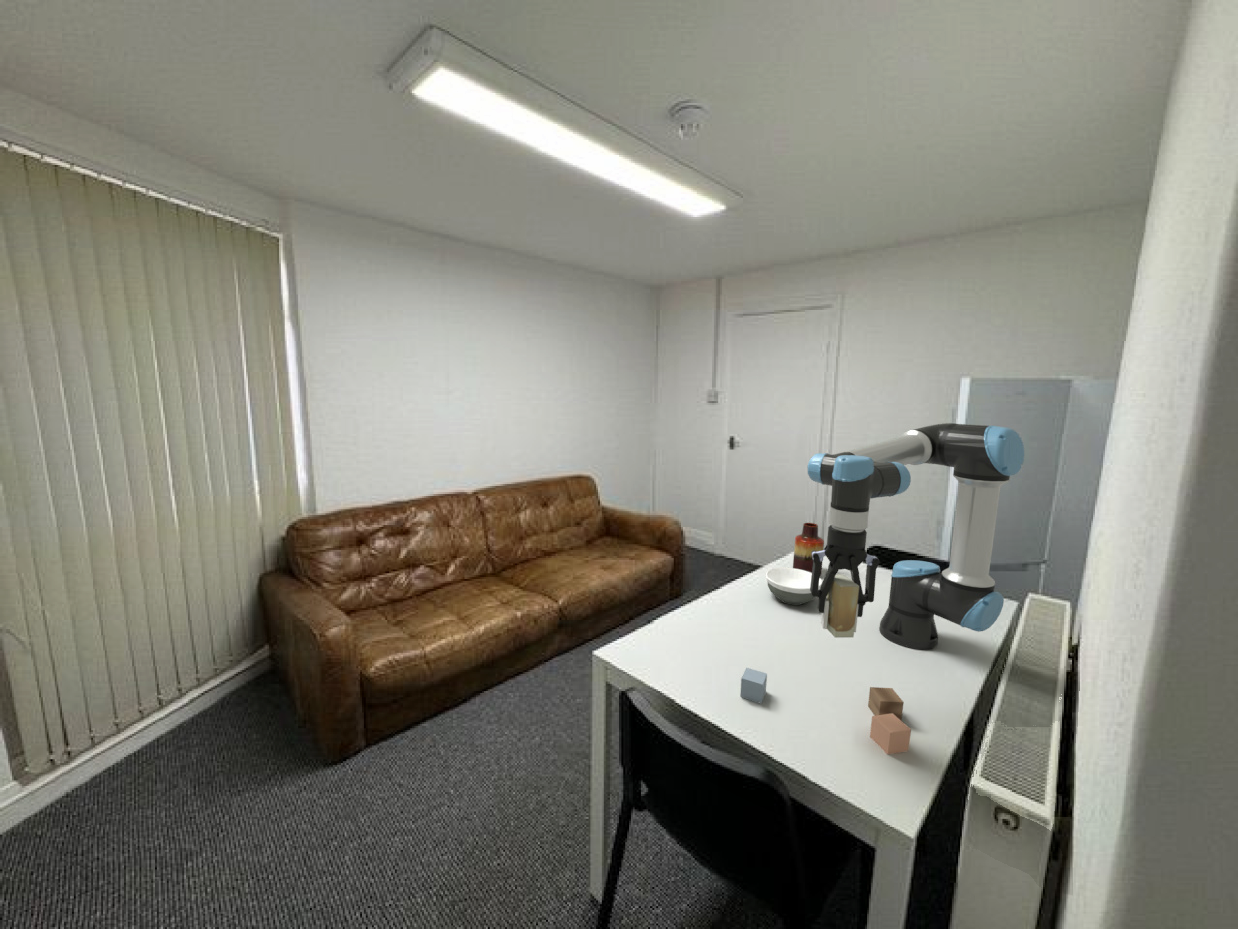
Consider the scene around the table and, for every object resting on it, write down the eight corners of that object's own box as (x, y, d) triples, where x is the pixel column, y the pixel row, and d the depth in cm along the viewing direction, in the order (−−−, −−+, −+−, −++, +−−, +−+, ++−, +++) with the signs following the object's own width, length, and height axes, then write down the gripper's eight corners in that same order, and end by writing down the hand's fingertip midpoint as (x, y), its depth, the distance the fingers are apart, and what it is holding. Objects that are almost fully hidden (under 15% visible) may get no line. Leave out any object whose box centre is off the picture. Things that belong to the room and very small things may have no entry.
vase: (795, 577, 187) (799, 527, 184) (790, 567, 198) (793, 520, 194) (824, 579, 185) (828, 529, 182) (817, 569, 196) (821, 521, 193)
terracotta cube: (890, 734, 103) (892, 713, 102) (908, 751, 98) (911, 729, 97) (869, 737, 102) (872, 716, 101) (887, 754, 97) (890, 732, 96)
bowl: (824, 596, 170) (826, 574, 169) (814, 617, 155) (817, 593, 153) (771, 584, 180) (773, 563, 179) (757, 602, 165) (759, 580, 163)
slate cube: (765, 692, 116) (767, 673, 115) (761, 704, 112) (762, 684, 111) (745, 686, 118) (746, 667, 118) (740, 697, 114) (741, 678, 113)
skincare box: (821, 624, 109) (825, 573, 107) (840, 623, 110) (844, 573, 108) (835, 638, 103) (840, 585, 101) (855, 638, 103) (860, 585, 101)
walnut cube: (889, 707, 111) (892, 688, 110) (901, 722, 106) (903, 702, 105) (867, 706, 111) (870, 687, 111) (878, 721, 106) (880, 701, 106)
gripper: (888, 525, 104) (877, 624, 108) (800, 519, 108) (792, 615, 112) (900, 536, 97) (888, 641, 101) (805, 529, 101) (797, 630, 105)
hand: (838, 627), depth 106 cm, fingers closed on skincare box, 5 cm apart
